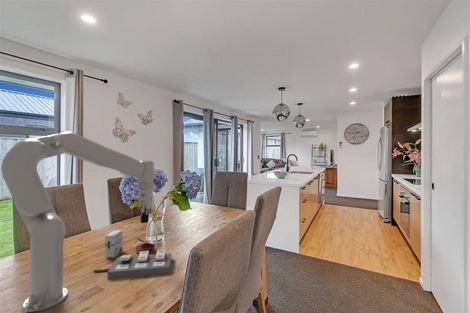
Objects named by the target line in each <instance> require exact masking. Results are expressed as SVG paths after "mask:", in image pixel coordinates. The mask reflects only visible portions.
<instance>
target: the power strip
mask: <svg viewBox="0 0 470 313" xmlns="http://www.w3.org/2000/svg"><path fill="white" fill-rule="evenodd" d="M120 257H121V256H118V257H117V258H116V259H115V261H114V262H113V264H112V265H111V267H109V268H100V269H93V273H102V272H107V280H109V279H111V280H112V279H119V278H120V279H122V278H133V277H143V276H154V275H164V274H165V275H166V274H170V271H171V264H172V253H171V252H170V253H165V257H164V260H155V258H156V254H148V258H147V261H142V262H138V257H139V255H132V257H131V258H130V259H129V260H124V261H119V259H120Z"/></svg>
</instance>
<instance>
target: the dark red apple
mask: <svg viewBox="0 0 470 313" xmlns="http://www.w3.org/2000/svg"><path fill="white" fill-rule="evenodd" d="M136 240H137V241H138V242H142V243H140V244H138V245H137V246H136V247H135V254H136V255H137V256H139V254H140V252H141V251H149V254H148V255H152V254H153V253H154V252H155V250H156V249H155V247H156V245H155V243H154V242H148V241H145V240H142V239H141V238H138V237H137V238H136Z"/></svg>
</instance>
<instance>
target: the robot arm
mask: <svg viewBox="0 0 470 313" xmlns="http://www.w3.org/2000/svg"><path fill="white" fill-rule="evenodd" d="M64 154H66V155H69V156H72V157H74V158H77V159H80V160H83V161H84V162H87V163H90V164H93V165H96V166H97V167H98V166H99V167H103V168H108V169H111V170H114V171H117V172H119V173H120V175H123V176H125V177H130V178H131V177H132V178H137V179H136V180H137V181H136V182H137V183H136V184H137V186H136V188H137V190H139V191H138V192H139V193H138V209H139V210H140V224H148V223H149V221H150V220H149V219H150V213H149V211H150V210H151V208H152V206H153V189H154V176H155V175H154V174H155V173H154V172H155V166H154V165H155V164H154V161H151V160H137V159H135V158H134V157H131V156H129V155H127V154H124V153H121V152H119V151H116V150H114V149H112V148H110V147H106V146H104V145H102V144H100V143H97V142H95V141H94V140H91V139H89V138H86V137H85V136H82V135H80V134H77V133H75V132H72V131H64V132H59V133H55V134H50V135H47V136H40V137H34V138H26V139H22V140H20V141H18V142H17V143H15V144H14V145H13V146H12V148H10V149H9V150H8V152H6V154H5V156H4V157H3V159H2V162H1V165H0V166H1V174H2V177H3V178H2V179H3V180H4V182H5V184H6V187H7V188H8V191H9V193H10V195H11V197H12V199H13V204H14V206H15V208H16V210H17V213H18V214H19V216H20V217H21V220H22V221H23V223H24V225H25V226H26V229H27V230H28V233H29V239H30V241H29V242H30V243H29V262H28V263H29V271H28V272H29V278H28V279H29V280H28V281H29V282H28V284H29V285H28V287H29V288H28V297H27V299H25V300H24V302H23V303H22V308H21V310H20V312H21V313H28V312H29V313H35V311H36V312H40V311H44V310H48V309H50V308H52V307H54V306H57V305H59V304H60V303H61V302H63V301H64V300H65V299H66V298H67V297H68V293H69V290H68V288H66V287H64V245H65V236H66V226H65V222H64V220H63V219H62V218H61V217H60V216H59V215H58V214H57V212H56V210H55V208H54V207H53V205H52V199H51V196H50V194H49V193H48V191H47V189H46V188H45V186H44V184H43V181H42V180H41V177H40V175H39V172H38V164H39V162H41V161H42V160H44V159H48V158H52V157H56V156H59V155H60V156H61V155H64Z"/></svg>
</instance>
